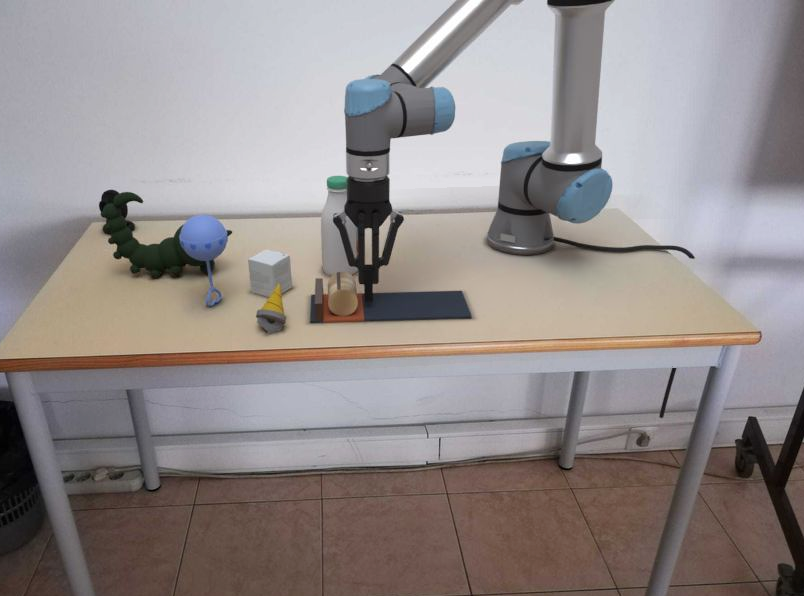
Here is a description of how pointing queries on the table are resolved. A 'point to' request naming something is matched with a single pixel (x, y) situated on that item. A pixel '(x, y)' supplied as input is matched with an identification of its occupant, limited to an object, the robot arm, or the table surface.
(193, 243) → the baby rattle
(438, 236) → the table surface
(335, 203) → the milk bottle
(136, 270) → the toy figurine
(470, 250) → the table surface
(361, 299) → the board
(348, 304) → the roller
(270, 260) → the product box
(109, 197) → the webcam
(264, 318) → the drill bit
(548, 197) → the robot arm
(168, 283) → the table surface
